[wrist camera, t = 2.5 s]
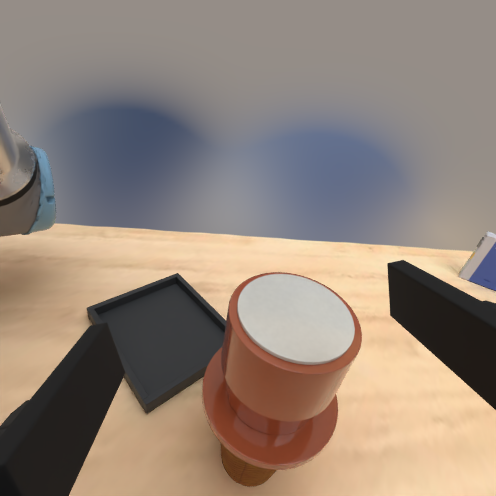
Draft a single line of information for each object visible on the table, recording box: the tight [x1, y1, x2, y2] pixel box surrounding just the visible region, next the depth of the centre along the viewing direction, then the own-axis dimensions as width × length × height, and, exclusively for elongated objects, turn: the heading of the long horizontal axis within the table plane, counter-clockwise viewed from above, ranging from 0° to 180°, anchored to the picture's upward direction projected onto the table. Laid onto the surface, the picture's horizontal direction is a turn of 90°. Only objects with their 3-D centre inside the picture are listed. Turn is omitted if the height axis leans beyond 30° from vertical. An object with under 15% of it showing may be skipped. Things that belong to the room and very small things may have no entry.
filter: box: [202, 272, 362, 470], centre depth 24 cm, size 13×12×10 cm
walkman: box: [459, 232, 496, 291], centre depth 68 cm, size 8×3×12 cm, turn 58°
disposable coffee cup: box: [221, 443, 276, 486], centre depth 30 cm, size 10×10×12 cm
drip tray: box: [87, 273, 226, 414], centre depth 45 cm, size 19×16×2 cm
